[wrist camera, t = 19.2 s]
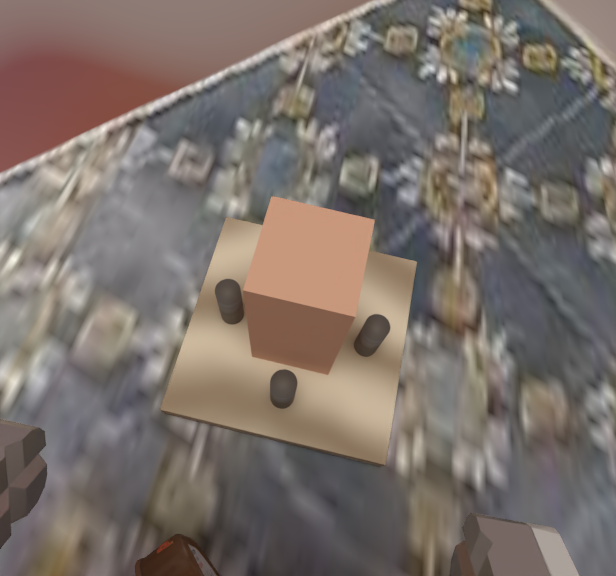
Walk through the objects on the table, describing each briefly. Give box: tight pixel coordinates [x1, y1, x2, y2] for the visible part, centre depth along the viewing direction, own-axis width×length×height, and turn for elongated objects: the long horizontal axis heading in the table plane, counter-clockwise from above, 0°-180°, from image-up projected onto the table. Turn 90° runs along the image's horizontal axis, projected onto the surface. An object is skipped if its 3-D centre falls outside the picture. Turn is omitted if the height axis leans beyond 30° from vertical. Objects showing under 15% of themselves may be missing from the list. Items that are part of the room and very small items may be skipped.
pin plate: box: [160, 217, 417, 466], centre depth 31 cm, size 14×14×6 cm
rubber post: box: [243, 196, 375, 375], centre depth 27 cm, size 5×5×11 cm
